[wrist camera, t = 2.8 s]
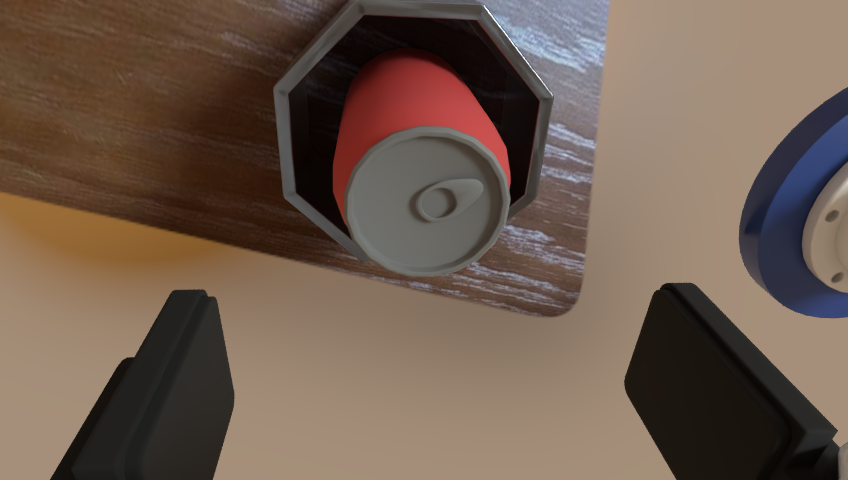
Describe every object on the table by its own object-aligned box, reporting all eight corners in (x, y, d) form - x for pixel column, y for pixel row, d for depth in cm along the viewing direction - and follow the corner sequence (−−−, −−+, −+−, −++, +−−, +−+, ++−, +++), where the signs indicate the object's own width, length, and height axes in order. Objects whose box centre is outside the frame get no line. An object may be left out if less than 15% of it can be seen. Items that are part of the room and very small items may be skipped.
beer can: (484, 140, 28) (548, 250, 18) (376, 185, 29) (379, 315, 19) (441, 23, 25) (490, 74, 15) (322, 77, 26) (288, 162, 16)
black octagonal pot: (528, -5, 25) (570, 8, 20) (499, 208, 31) (525, 261, 25) (287, -17, 24) (263, -7, 18) (303, 207, 29) (289, 262, 24)
